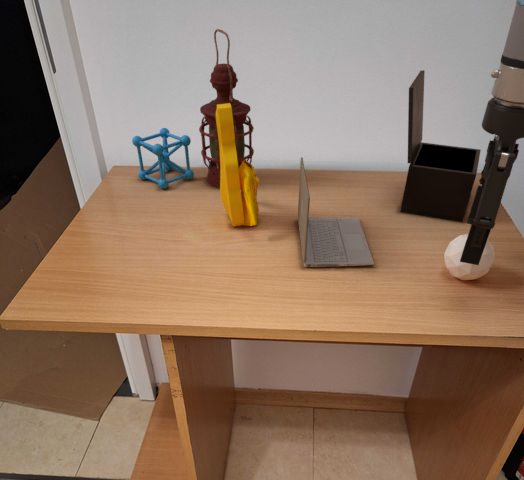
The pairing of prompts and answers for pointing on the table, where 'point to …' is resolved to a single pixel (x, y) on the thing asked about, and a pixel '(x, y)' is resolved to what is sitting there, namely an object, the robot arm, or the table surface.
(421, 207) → the box
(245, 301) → the table surface
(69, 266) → the table surface
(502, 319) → the table surface
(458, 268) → the geometric ball
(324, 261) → the laptop
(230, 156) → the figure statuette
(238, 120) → the lantern
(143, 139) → the molecular structure
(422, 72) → the dark brown box lid
